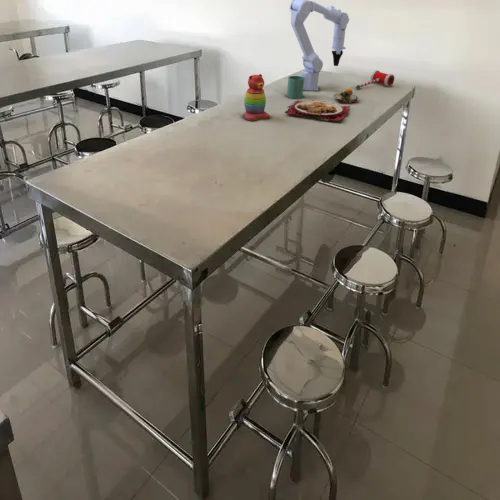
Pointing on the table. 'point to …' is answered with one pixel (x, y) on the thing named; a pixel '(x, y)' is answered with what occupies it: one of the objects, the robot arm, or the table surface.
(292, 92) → the green cup
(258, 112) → the stacking bear
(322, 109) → the plate with food
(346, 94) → the burger
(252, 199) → the table surface
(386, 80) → the toy hammer
